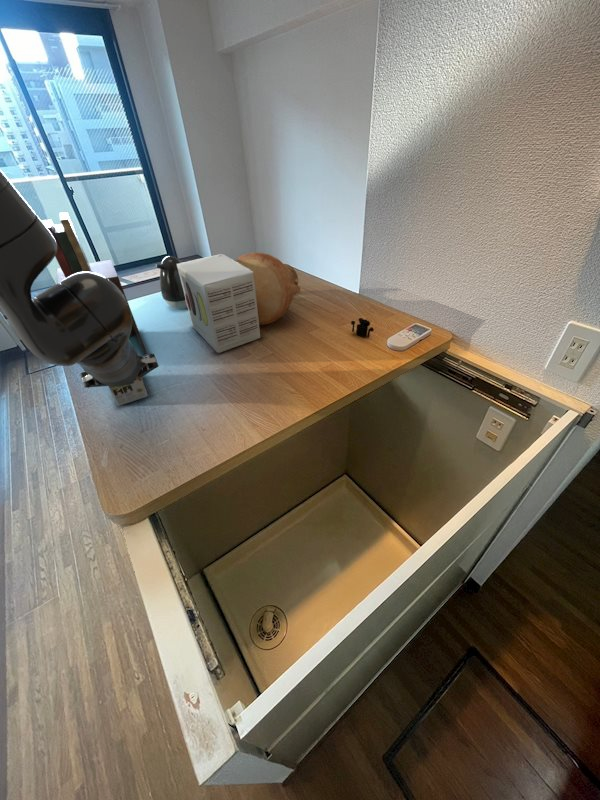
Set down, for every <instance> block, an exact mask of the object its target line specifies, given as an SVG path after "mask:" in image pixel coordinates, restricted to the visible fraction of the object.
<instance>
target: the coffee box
mask: <svg viewBox="0 0 600 800" xmlns="http://www.w3.org/2000/svg"><path fill="white" fill-rule="evenodd" d="M136 379H137V380H135V381H134V383H133V384H129V385H124V386H118V387H113V386H108V389H109V391H110V392H111V394H112V396H113V398H114V400H115V402H116V404H117V406H123V405H126V404H129V403H132V402H135V401H139V400H142V399H144V398H147V397H148V395H149V394H148V392H147V388H146V386H145V383H144V380H143V377H138V376H137V377H136Z"/></svg>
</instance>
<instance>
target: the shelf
mask: <svg viewBox="0 0 600 800" xmlns="http://www.w3.org/2000/svg"><path fill="white" fill-rule="evenodd" d="M59 220H60V223H57V224H56V223H55V224H54V222H53V220H52V219H42V220H41V221H42V222H43V223H44V225H45V226H46V227H47V228H48V230H49V231H50V232H51V234H52V236H53V237H54V239H55V241H56V243H57V253H56V255H55V257H54V258H55V259H56V262H57V264H58V265H59V267H57V268H56V284H57V283H61V281H62V280H64V279H66V278H68V277H69V276H71V275H73V274H75V273H79V272H93V273H96V274H99V275H102V276H104V277H105V278H107V279H109V280H110V281H111V282H113V283H114V284H115V285H116V286H117V287H118V288H119V289H120V291H121V292H122V294H123V295H124V297H125V298H126V300H127V302H128V299H127V296H126V294H125V293H126V292H125V291H124V288H123V286H122V283H121V281H120V278H119V275H118V273H117V270H116V269H115V266H114V263H113V261H112V259H106V260H100V261H99V260H98V261H95V262H93V261H92V262H89V260H88V257H87V255H86V253H85V251H84V249H83V246H82V243H81V241H80V239H79V237H78V235H77V232H76V230H75V228H74V225H73V222H72V220H71V218H70V216H69V213H68V212H67V211H66V212H59ZM128 305H129V302H128ZM129 306H130V305H129ZM130 310H131V308H130ZM131 315H132V329H131V333H130V336H129V337H133V336H136V338H137V340H138V342H139V345H140V347H141V350H142V353H143V355H144V356H145V355H148V352H147V348H146V346H145V343H144V340H143V338H142V336H141V333H140V330H139V328H138V325H137V323H136V319H135V317H134V315H133V312H132V310H131Z"/></svg>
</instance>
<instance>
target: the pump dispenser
mask: <svg viewBox="0 0 600 800" xmlns="http://www.w3.org/2000/svg"><path fill="white" fill-rule="evenodd" d="M179 263H182V261H181V260H180V259H179V258H177V257H176V256H173V255H168V256H165V257H164V258H163V259H162V261H161V263H158V264H155V267H156V269H158V270H159V285H160V286H159V287H160V292H161V296H162V299H163V300H164V301H165V302H166V304H167V305H168V306H169V307H171V308H173V309H177V310H183V309H186V308H187V309H188V307H187V303H186V299H185V295H184V291H183V287H182V283H181V279H180V275H179V272H178V268H177V264H179Z"/></svg>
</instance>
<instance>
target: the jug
mask: <svg viewBox="0 0 600 800" xmlns="http://www.w3.org/2000/svg"><path fill="white" fill-rule="evenodd" d="M234 261H236V262H238V263H239V264H241V265H243V266H244V267H246V268H248V269H250V270H251V271H253V273H254V283H255V292H256V301H257V310H258V319H259V326H264V325H269V324H272V323H274V322H276V321H278V320H279V319H280V318H282V317H283V316H284V315H285V314H286V313H287V311H288V309H289V307H290V305H291V303H292V301H293V296H294V294H297V293H300V292H301V286H300V285H298V284H299V282H300V281H299V276H298V273H297V270H295V268H294V267H293V266H291V265H290V264H288V263H284V262H282V261H281V260H280V259H279V258H277V257H275V256H273V255H271V254H268V253H264V252H250V253H246V254H242V255H241V256H239V257H237V258H236V259H235V260H234Z"/></svg>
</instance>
